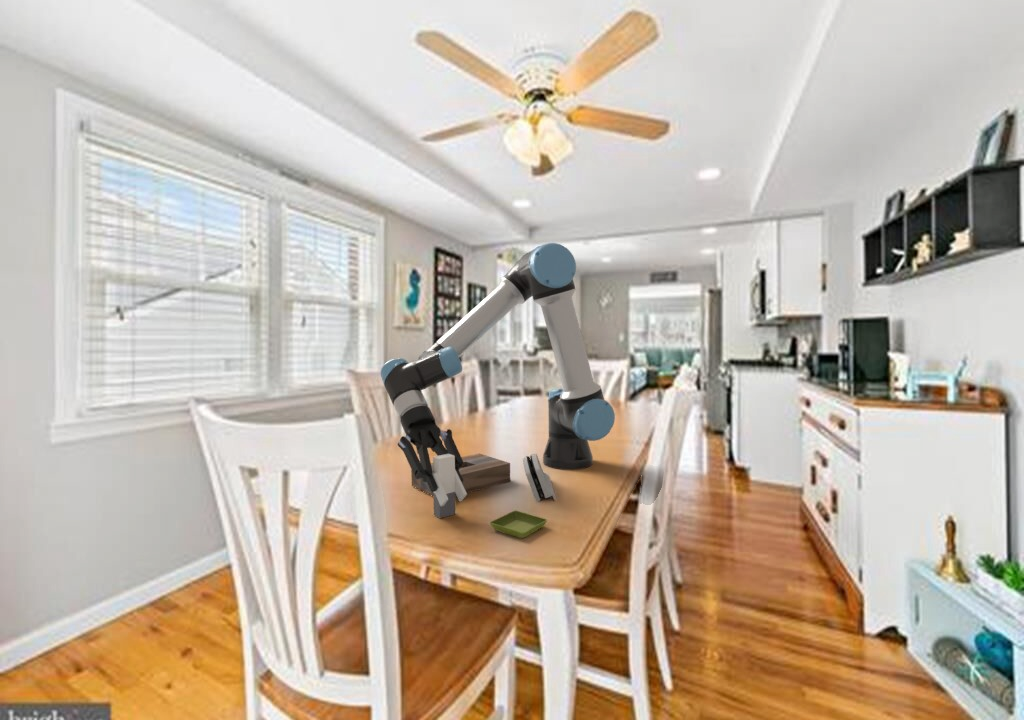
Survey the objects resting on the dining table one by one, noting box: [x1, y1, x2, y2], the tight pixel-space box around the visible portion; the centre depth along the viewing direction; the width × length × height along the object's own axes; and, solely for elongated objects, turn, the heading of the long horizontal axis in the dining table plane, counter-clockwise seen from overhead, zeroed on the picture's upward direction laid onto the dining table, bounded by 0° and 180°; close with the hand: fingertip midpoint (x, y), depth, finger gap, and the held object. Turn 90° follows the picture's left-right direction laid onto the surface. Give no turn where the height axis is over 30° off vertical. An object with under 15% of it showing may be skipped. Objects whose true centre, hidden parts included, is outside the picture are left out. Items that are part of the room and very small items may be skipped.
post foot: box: [410, 453, 511, 497], centre depth 127 cm, size 14×22×5 cm, turn 130°
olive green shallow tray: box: [489, 510, 548, 539], centre depth 97 cm, size 9×9×2 cm
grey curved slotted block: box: [522, 452, 557, 502], centre depth 122 cm, size 17×5×10 cm, turn 0°
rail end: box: [432, 454, 456, 519], centre depth 105 cm, size 2×4×13 cm, turn 130°
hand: (454, 500), depth 102 cm, fingers closed on rail end, 4 cm apart
